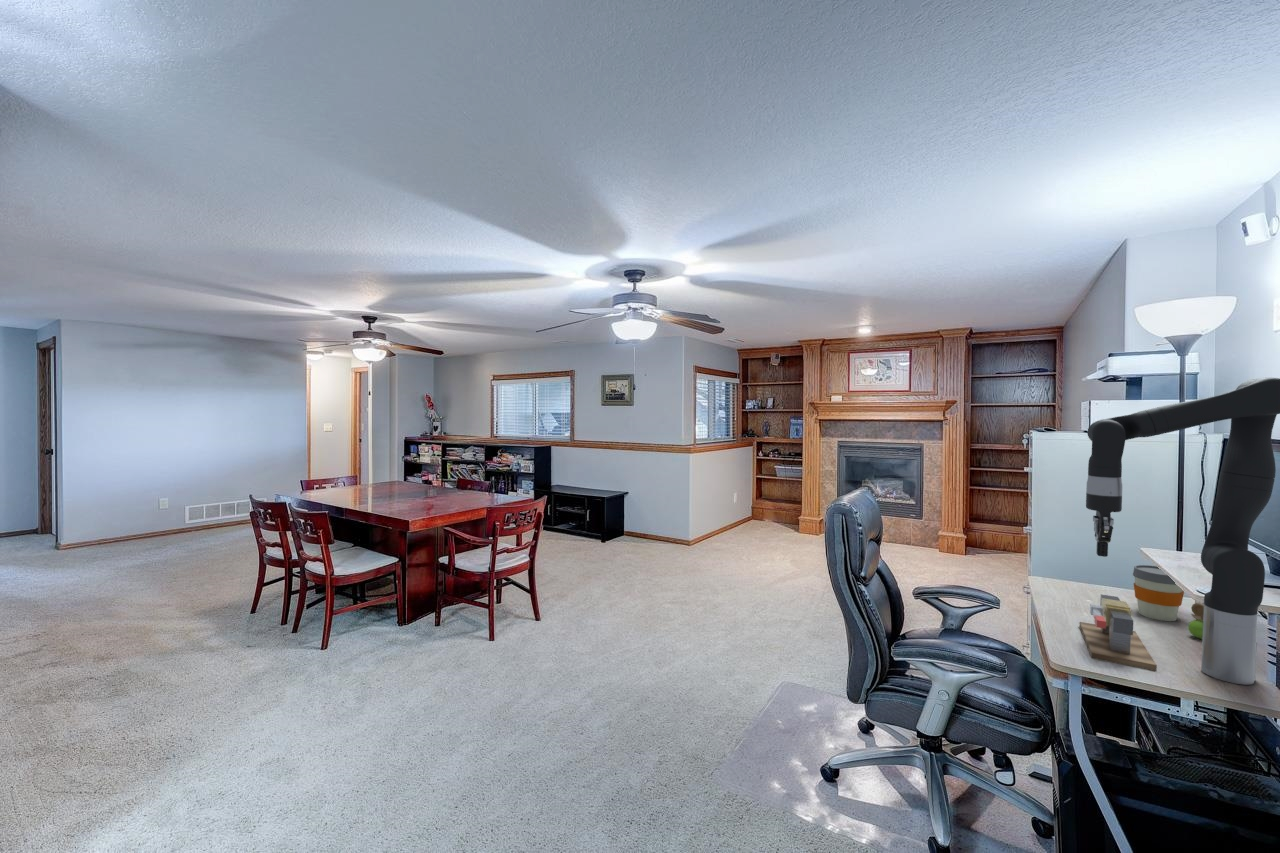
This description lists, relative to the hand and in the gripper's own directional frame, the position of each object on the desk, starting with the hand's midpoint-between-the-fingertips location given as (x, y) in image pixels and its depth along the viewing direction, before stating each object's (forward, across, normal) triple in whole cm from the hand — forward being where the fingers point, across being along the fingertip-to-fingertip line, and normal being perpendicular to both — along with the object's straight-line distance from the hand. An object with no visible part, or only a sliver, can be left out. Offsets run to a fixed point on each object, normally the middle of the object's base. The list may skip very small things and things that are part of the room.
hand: (1101, 555), depth 152 cm
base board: (+27, +8, -4) cm, 29 cm away
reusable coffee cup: (+27, +47, -20) cm, 58 cm away
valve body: (+26, +8, -4) cm, 27 cm away
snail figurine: (+27, +29, -27) cm, 48 cm away
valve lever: (+17, +9, 0) cm, 20 cm away
